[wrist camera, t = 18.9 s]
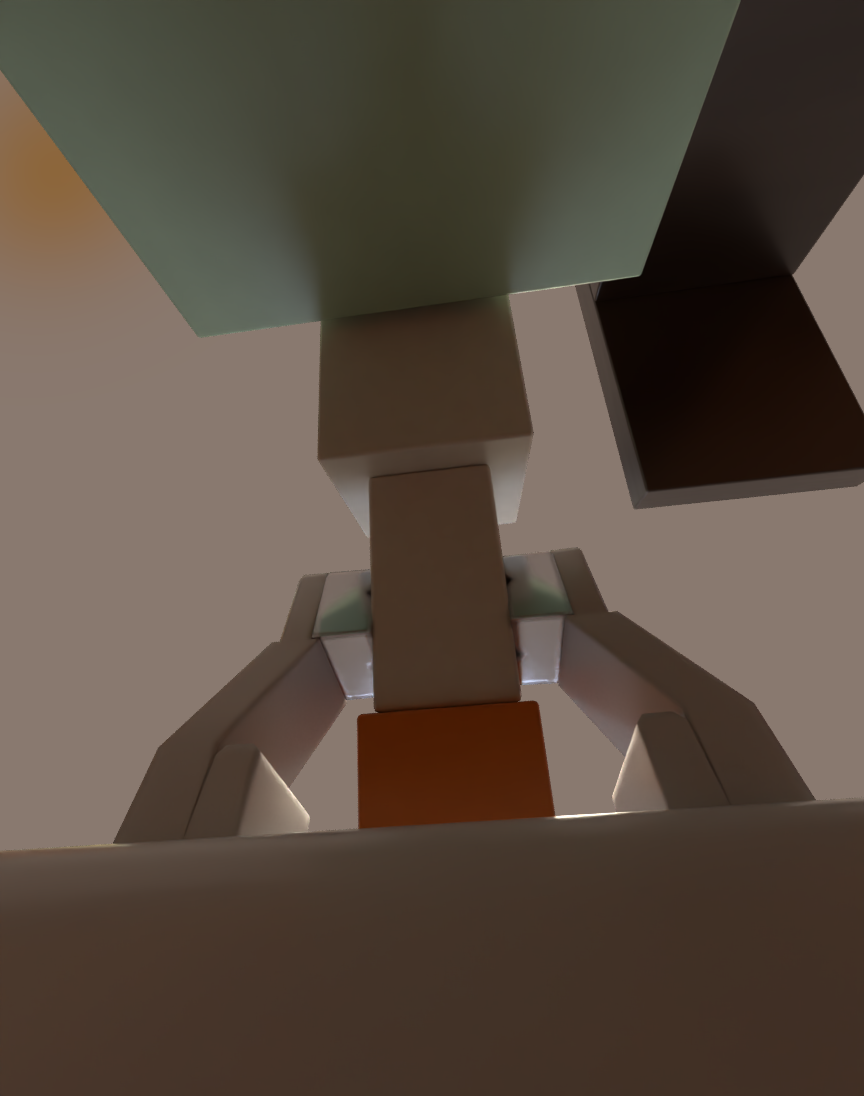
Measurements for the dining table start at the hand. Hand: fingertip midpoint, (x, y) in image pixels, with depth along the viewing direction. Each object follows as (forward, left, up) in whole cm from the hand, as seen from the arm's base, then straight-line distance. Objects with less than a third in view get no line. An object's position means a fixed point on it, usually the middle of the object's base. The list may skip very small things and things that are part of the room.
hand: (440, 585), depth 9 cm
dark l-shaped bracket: (+6, +14, -18) cm, 23 cm away
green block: (+10, +4, -18) cm, 20 cm away
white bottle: (+5, +2, -2) cm, 6 cm away
